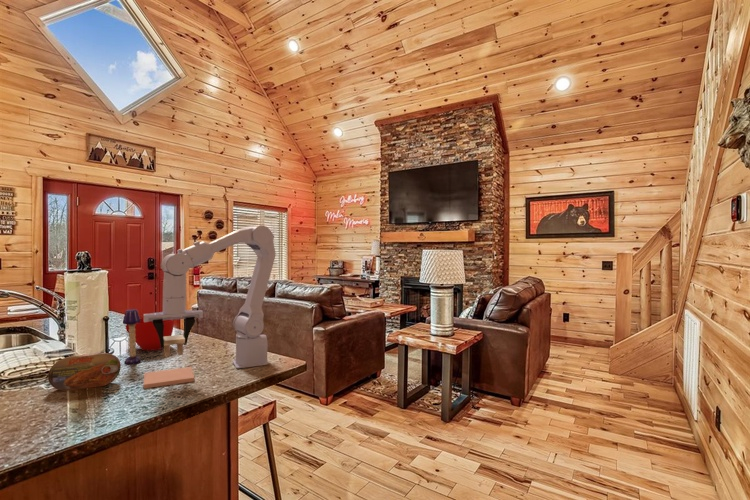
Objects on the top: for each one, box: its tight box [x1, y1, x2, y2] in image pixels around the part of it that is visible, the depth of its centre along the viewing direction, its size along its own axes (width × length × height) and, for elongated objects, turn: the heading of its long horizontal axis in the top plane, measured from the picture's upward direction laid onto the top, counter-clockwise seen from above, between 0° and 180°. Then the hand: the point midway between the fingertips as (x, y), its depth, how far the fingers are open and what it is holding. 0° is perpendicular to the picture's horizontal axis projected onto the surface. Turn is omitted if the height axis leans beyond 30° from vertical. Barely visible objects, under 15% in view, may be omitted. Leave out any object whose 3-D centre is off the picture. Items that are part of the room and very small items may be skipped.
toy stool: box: [163, 334, 185, 358], centre depth 105 cm, size 5×5×4 cm
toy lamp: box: [122, 308, 142, 366], centre depth 118 cm, size 5×5×17 cm
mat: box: [142, 366, 195, 389], centre depth 105 cm, size 12×10×1 cm
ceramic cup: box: [125, 317, 175, 351], centre depth 134 cm, size 13×17×10 cm
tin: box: [47, 352, 122, 392], centre depth 98 cm, size 15×3×8 cm, turn 117°
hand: (173, 345), depth 105 cm, fingers closed on toy stool, 5 cm apart
